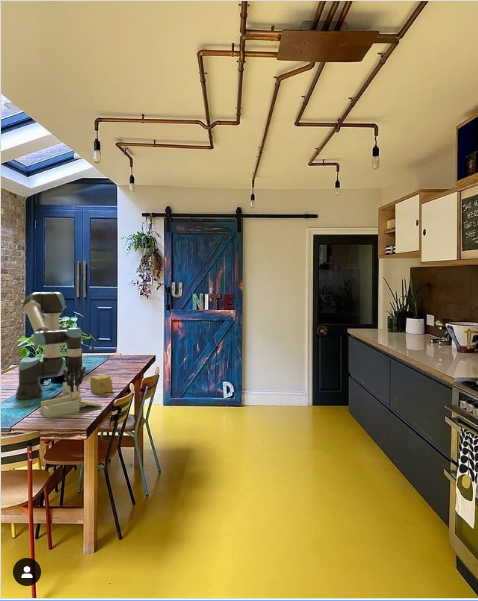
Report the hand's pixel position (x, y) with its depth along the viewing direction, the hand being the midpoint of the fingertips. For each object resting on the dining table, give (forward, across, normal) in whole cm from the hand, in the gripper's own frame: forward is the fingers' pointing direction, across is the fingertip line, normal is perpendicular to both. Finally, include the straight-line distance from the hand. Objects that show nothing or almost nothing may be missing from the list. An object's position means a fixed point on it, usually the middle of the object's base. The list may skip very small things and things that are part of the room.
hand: (74, 397), depth 232 cm
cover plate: (+5, +7, 0) cm, 8 cm away
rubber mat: (+7, +7, 0) cm, 10 cm away
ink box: (+8, +6, +18) cm, 20 cm away
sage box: (+7, -8, 0) cm, 11 cm away
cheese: (+8, +29, +26) cm, 40 cm away
